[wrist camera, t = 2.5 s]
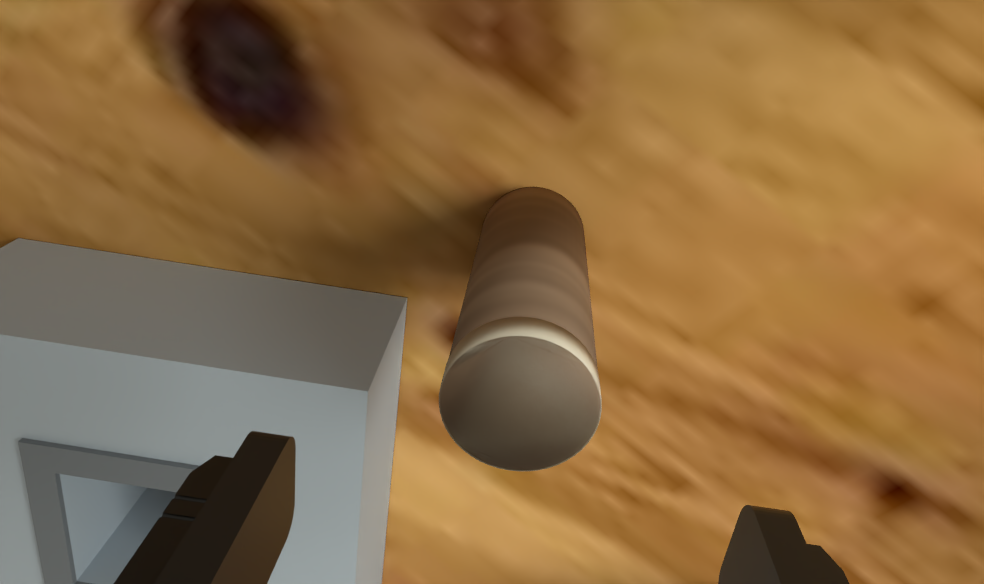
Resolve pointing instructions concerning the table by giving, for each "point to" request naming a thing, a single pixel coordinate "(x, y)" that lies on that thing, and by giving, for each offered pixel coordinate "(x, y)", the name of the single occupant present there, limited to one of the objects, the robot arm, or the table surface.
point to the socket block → (185, 407)
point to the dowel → (525, 339)
